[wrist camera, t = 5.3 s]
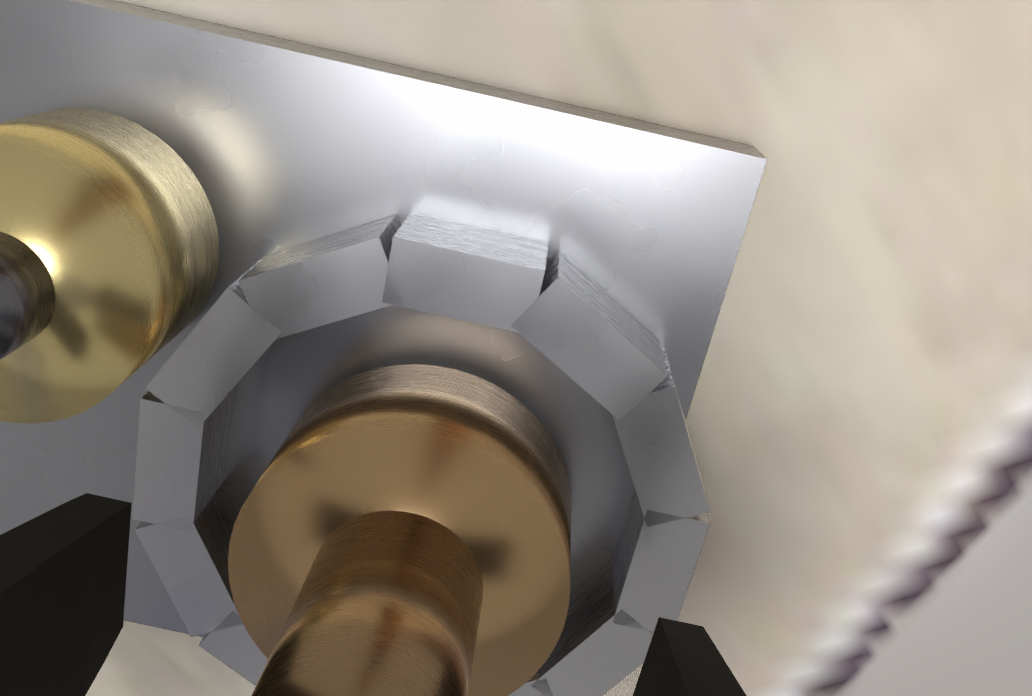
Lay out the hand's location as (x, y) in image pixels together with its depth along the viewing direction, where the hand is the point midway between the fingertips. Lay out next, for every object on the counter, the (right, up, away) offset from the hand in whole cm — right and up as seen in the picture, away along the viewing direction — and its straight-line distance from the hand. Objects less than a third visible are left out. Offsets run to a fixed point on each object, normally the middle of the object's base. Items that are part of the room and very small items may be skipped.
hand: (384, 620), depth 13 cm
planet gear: (0, +1, +4) cm, 4 cm away
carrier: (-2, +3, +4) cm, 6 cm away
